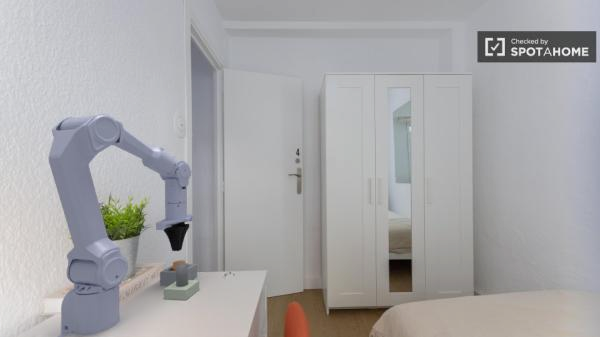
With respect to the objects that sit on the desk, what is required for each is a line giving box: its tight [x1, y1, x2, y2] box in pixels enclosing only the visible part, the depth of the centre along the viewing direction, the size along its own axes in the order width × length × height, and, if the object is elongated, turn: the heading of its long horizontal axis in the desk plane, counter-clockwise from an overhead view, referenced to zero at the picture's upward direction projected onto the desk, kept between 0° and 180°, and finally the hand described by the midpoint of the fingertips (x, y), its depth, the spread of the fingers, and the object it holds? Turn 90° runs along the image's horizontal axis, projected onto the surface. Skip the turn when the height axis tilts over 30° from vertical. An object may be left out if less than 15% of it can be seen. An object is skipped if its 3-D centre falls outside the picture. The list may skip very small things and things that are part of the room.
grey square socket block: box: [159, 263, 198, 287], centre depth 77 cm, size 7×7×5 cm
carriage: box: [163, 262, 200, 301], centre depth 68 cm, size 6×6×7 cm
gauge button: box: [172, 259, 186, 271], centre depth 77 cm, size 3×3×4 cm
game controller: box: [222, 271, 235, 280], centre depth 80 cm, size 6×12×3 cm, turn 100°
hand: (176, 250), depth 76 cm, fingers closed
